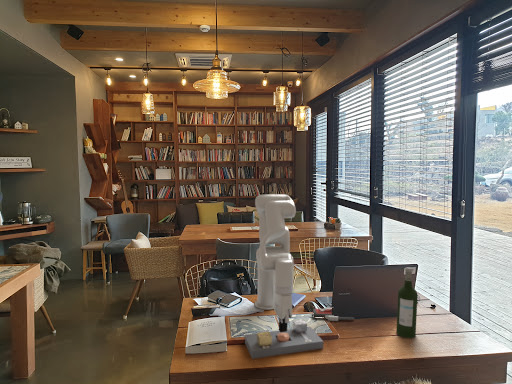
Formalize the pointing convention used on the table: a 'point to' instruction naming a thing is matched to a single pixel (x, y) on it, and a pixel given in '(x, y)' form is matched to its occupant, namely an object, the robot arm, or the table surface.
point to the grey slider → (299, 325)
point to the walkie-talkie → (328, 314)
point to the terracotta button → (282, 337)
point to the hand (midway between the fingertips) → (283, 330)
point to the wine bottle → (407, 308)
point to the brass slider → (264, 338)
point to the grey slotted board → (284, 343)
